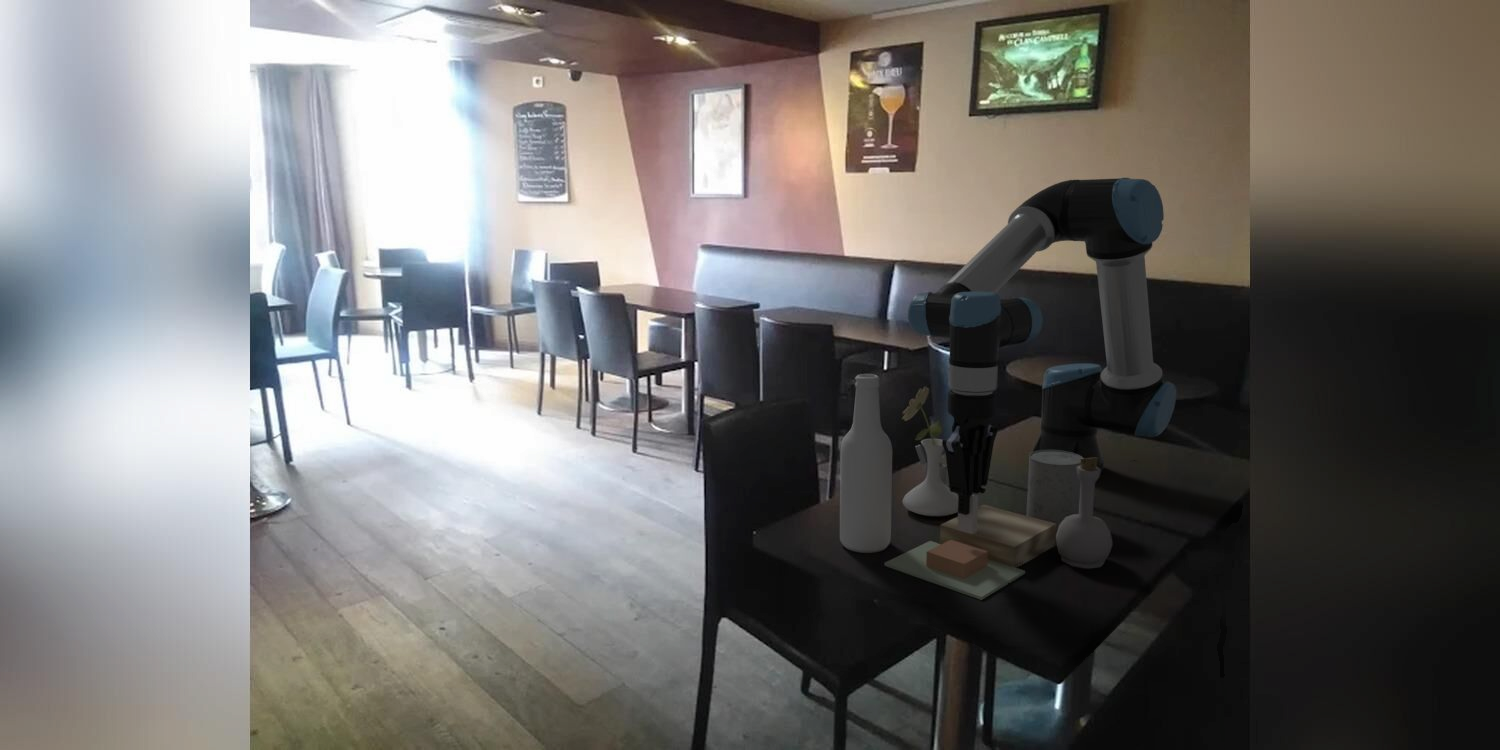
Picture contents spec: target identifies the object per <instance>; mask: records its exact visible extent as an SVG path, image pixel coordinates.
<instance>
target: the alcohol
mask: <svg viewBox="0 0 1500 750" xmlns="http://www.w3.org/2000/svg"><path fill="white" fill-rule="evenodd" d="M854 378H855V380H856V381H855V384H854V386H855V394H854V395H855V398H854V408H853V419H852V425H851V427H850V429H849V431H848V432H847V433H846V434H845V435H844V437H843V439H842V440H841V446H840V452H839V453H840V454H839V455H840V461H839V463H840V464H839V465H840V468H839V471H840V473H839V475H840V476H839V479H840V480H839V482H840V483H839V486H840V487H839V492H840V493H839V541H840V542H841V544H842V546H843V547H844V548H846V549H847V550H849V551H851V552H855V553H862V554H863V553H864V554H872V553H878V552H882V551H884V550H885V549H887V548H888V546H889V545H890V543H891V541H892V540H891V538H892V537H891V536H892V533H891V532H892V496H893V495H892V494H893V493H892V492H893V491H892V487H893V485H892V483H893V482H892V481H893V447H892V446H893V445H892V442H891V439H890V438H889V436H888V434H887V433H886V432H885V431H884V430H883V427H882V425H881V411H880V395H879V387H880V383H879V380H880V377H879V376H878V375H877V374H872V373H862V374H857V375H856V376H855V377H854Z"/></svg>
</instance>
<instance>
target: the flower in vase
mask: <svg viewBox="0 0 1500 750" xmlns="http://www.w3.org/2000/svg"><path fill="white" fill-rule="evenodd" d="M929 394H930V388H928V387H927V386H926V385H924V387H923V389H922V388H919V389H918V392H917V393H916V395H915V398H911V399H910V400H909V403H908V406H907V407H906V409H904V410H903V411H902V415H903V416H902V418H901V419H902V420H904V421H905V422H907V421H910V420H911V419H912V418H913V417H914V416H915V415H916V414H917V413H918V412H919V411H920V410H921V412H922V414H923V417H924V419H925V422H926V425H927V428H922V430H921V431H919V432H918V434H916V436H915V441H920V440H921V441H920V443H921V444H922V445H923V446H924V448H925V450H926V454H927V461H928V472H927V477H926V476H925V479H924V480H923V481H922V482H921V483H919V484H917V485H916V486H915V487H914V488H912V489H911V490H909V491H908V492H907V493H906V494H905V495H904V496H903V499H902V504H903V506H904V507H905V509H907V510H908V511H910V512H912V513H914V514H918V515H921V516H926V517H946V516H950V515H954V514H958V494H957V493H954V492H951V491H950V487H949V486H948V485H947V484H946V485H945V484H944V483H943V482H942V480H941V478H940V460H941V461H942V459H941V458H942V454H943V452H944V451H945V450H944V447H943V445H942V441H943V439H942V438H941V439H940V438H935V437H937V436H939V435H941V434H942V433H943V426H942V424H941V420H937V421H935V423H933V424H932V425H930V423H929V421H928V418H927V415H926V412H925V411H924V408H923V405H924V404H925V403H926V400H927V398H928V395H929ZM928 433H929V436H930V438H925V437H926V436H927V434H928ZM924 438H925V439H924Z"/></svg>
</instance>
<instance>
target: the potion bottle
mask: <svg viewBox="0 0 1500 750" xmlns="http://www.w3.org/2000/svg"><path fill="white" fill-rule="evenodd" d="M1097 459H1098V457H1093V458H1084V459H1081V465H1080V466H1077V476H1078V478H1079V479H1080V481H1081V487H1080V502H1079V514H1073V515H1070V516H1067V517H1065V519H1064V520H1063V521H1062V522H1061V523H1060V525H1059V527H1058V530H1056V533H1055V543H1056V547H1057V551H1058V554H1059V555H1060V559H1061V562H1062V563H1065V564H1067V566H1070V567H1073V568H1080V569H1085V570H1091V569H1098V568H1099V569H1100V568H1102V566H1104V564H1105V562H1106V560H1107V558H1108V557H1109V556H1110V554H1111V553H1110V552H1111V550H1112V547H1113V537H1112V534H1111V530H1110V529H1109V527H1108V525H1107V524H1106V522H1105V521H1104V520H1102V518H1100V517H1099V516H1093V514H1094V502H1095V501H1094V500H1095V486H1096V482H1097V481H1098V480H1099V478H1100V476H1101V474H1100V472H1101V469H1100V468H1098V467H1096V465H1097Z"/></svg>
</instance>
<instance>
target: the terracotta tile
mask: <svg viewBox="0 0 1500 750" xmlns="http://www.w3.org/2000/svg"><path fill="white" fill-rule="evenodd" d="M987 563H988V551H986V550H982V549H979V548H976V547H973V546H969V545H966V544H963V543H960V542H956V541H953V540H949V541H947V542H945V543H943V544H941V545H939V546H937V547H935V548H933V549H931V550H929V551H927V557H926V566H927V567H930V568H933V569H936V570H939V571H942V572H945V573H948V574H951V575H954V576H956V577H959V578H962V579H965V578H966V577H968V576H970V575H972V574H973V573H975V572H977V571H979V570H981V569H982V568H984V567H986V566H987Z"/></svg>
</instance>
